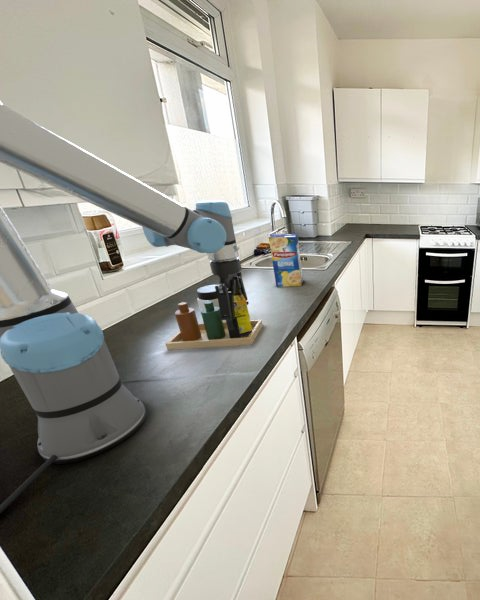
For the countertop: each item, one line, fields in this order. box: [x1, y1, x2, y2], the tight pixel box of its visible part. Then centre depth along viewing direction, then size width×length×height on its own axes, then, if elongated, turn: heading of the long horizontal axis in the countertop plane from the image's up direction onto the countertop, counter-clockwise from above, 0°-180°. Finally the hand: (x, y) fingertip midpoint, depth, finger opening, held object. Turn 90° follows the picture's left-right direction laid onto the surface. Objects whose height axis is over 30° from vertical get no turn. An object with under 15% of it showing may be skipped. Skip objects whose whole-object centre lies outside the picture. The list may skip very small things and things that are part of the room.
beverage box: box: [268, 233, 304, 288], centre depth 139 cm, size 7×11×22 cm, turn 100°
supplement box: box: [234, 294, 252, 335], centre depth 94 cm, size 6×6×11 cm
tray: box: [165, 319, 264, 351], centre depth 95 cm, size 13×23×3 cm, turn 98°
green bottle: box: [200, 301, 226, 340], centre depth 93 cm, size 5×5×11 cm
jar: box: [196, 283, 226, 323], centre depth 104 cm, size 9×8×12 cm
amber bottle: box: [174, 301, 201, 341], centre depth 92 cm, size 5×5×11 cm
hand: (240, 331), depth 95 cm, fingers closed on supplement box, 8 cm apart
